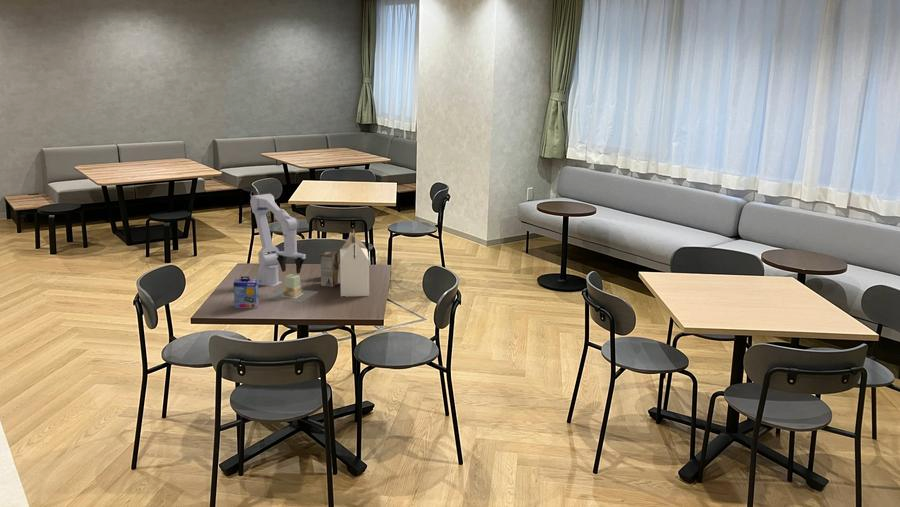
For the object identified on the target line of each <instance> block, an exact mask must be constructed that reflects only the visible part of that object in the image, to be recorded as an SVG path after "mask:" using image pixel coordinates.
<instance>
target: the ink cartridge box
mask: <svg viewBox="0 0 900 507" xmlns="http://www.w3.org/2000/svg"><path fill="white" fill-rule="evenodd" d="M259 298H260V297H259V285H258V278H250V277H249V275H248V276H247V275H245V276H244V275H243V276H240V278H236V279H234V281H233V300H234V309H258V308H259V307H258V306H259V305H260V299H259Z"/></svg>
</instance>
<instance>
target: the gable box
mask: <svg viewBox="0 0 900 507" xmlns="http://www.w3.org/2000/svg"><path fill="white" fill-rule="evenodd" d="M339 283H340V297H341V296H345V297H370V258H369V252H368V249H367V247H366V245H365V244H364V243H363V242H362V240H361V239H360V237H359V235H357V234H355V229H352V232H351V231H349V236H348V237H347V239H346V240H345V242H344V244H343V245H342V247H341V248H340V249H339Z"/></svg>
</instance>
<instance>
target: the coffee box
mask: <svg viewBox="0 0 900 507" xmlns="http://www.w3.org/2000/svg"><path fill="white" fill-rule="evenodd" d="M319 259H320V286H322V287H332V288H333V287H336V286H337V285H338V284H339V283H340V251H337V250H335V251H334V250H326V251H324V252H323V253H322V254H320V258H319ZM335 285H336V286H335Z"/></svg>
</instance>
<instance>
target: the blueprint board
mask: <svg viewBox="0 0 900 507" xmlns="http://www.w3.org/2000/svg"><path fill="white" fill-rule="evenodd" d="M318 293H319V291H317V290H309V289H301V294H300V295H298V296H297V297H288V296H283V288H282V289H280V290H278V291H276V292H274V293H272V294H271V295H268V296H267V297H265V299H267V300H268V299H269V300H273V301H274V300H275V301H282V302H283V301H284V302H291V303H299V304H301V303H302V302H304V301H306V300H308V299H309V298H311V297H312V296H315V295H316V294H318Z"/></svg>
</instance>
